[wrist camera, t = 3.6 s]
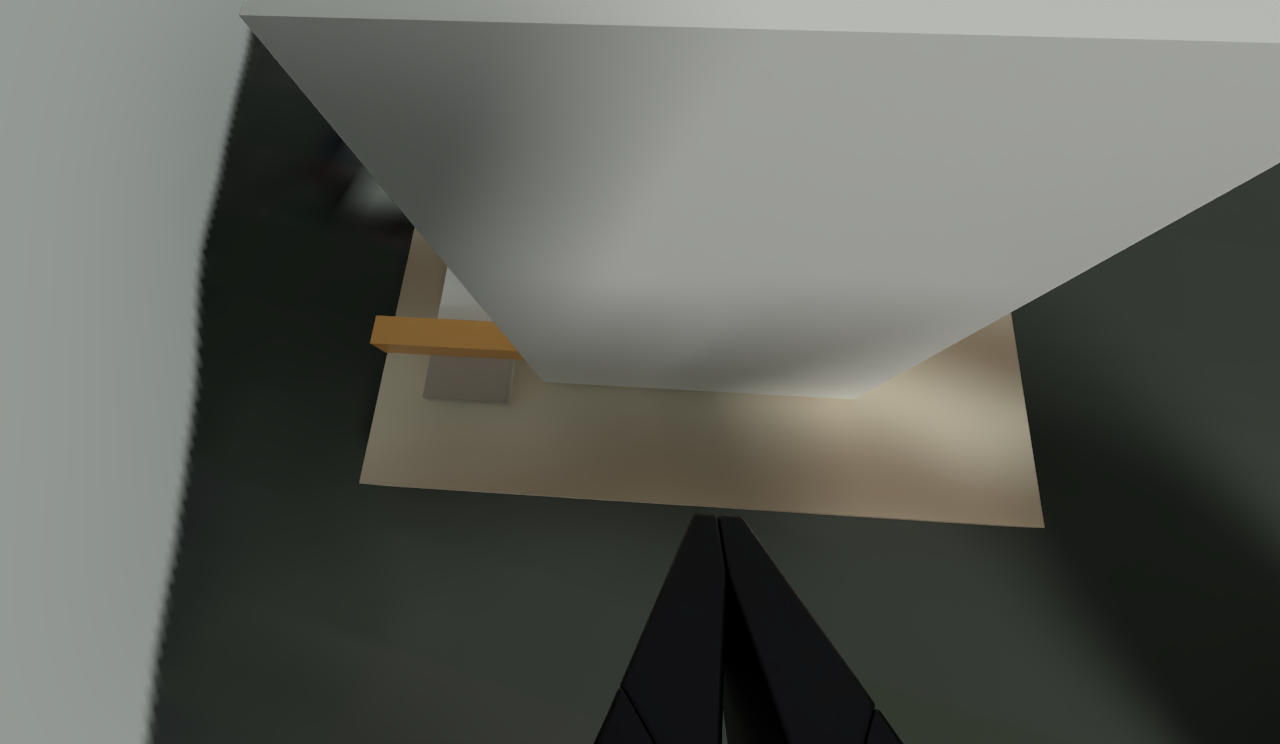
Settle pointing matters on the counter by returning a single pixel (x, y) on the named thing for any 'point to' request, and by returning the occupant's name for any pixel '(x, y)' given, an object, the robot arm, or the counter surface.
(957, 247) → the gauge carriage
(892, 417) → the gauge frame
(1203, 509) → the counter surface
